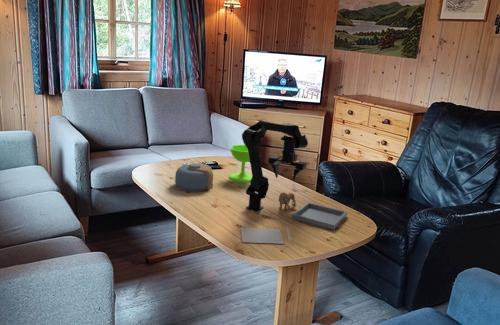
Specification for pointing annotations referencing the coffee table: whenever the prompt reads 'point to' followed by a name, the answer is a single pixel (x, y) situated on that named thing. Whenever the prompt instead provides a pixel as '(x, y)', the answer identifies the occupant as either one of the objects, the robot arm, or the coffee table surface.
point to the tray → (319, 215)
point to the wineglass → (243, 156)
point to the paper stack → (262, 235)
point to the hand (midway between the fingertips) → (285, 179)
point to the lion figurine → (286, 199)
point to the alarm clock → (194, 177)
